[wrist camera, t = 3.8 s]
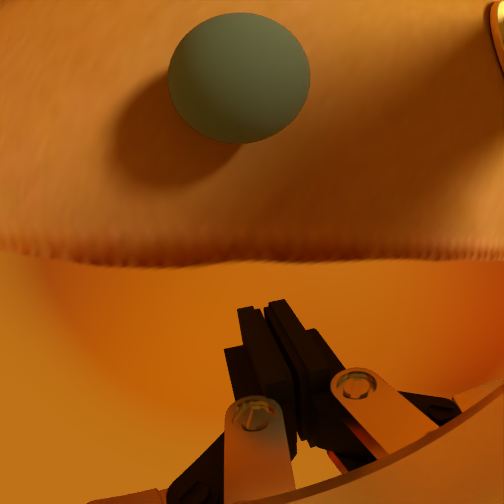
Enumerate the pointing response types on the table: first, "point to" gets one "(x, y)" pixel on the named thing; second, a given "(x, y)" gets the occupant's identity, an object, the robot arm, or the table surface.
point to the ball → (238, 78)
